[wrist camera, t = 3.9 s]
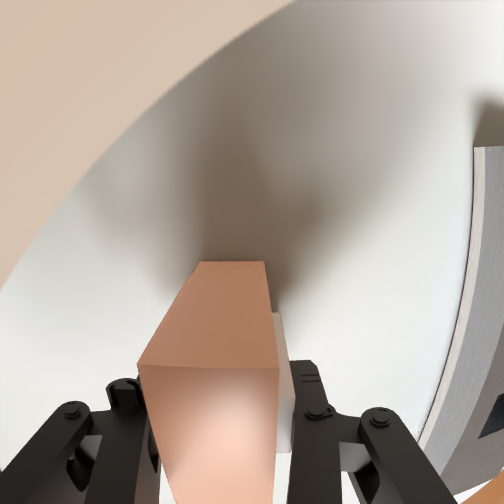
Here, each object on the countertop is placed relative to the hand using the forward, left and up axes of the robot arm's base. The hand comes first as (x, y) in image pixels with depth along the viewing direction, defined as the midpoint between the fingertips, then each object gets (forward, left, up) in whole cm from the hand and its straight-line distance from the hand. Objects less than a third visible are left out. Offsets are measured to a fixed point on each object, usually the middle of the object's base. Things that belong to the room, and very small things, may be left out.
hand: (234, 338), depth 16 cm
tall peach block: (0, 0, 0) cm, 0 cm away
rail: (+17, -2, 0) cm, 17 cm away
